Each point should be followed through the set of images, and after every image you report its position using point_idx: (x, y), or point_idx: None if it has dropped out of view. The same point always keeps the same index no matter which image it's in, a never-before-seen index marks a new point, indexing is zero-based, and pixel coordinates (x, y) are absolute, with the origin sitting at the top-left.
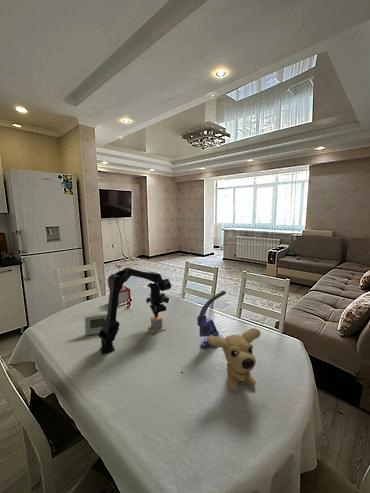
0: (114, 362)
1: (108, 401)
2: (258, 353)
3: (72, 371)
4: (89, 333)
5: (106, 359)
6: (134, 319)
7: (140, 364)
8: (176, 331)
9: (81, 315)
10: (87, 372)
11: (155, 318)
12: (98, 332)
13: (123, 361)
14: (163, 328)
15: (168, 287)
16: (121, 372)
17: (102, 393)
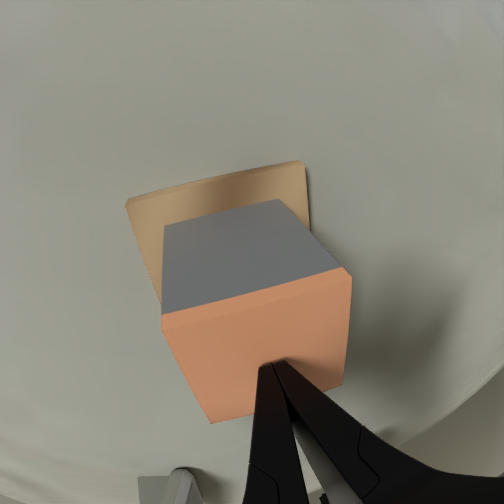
0: (418, 403)
1: (495, 365)
2: None
3: None
4: (202, 502)
5: (388, 425)
6: (23, 397)
7: (481, 331)
8: (379, 54)
9: (40, 495)
10: (404, 434)
11: (306, 374)
12: (199, 493)
13: (434, 383)
14: (291, 183)
15: None
16: (464, 371)
17: (476, 382)
